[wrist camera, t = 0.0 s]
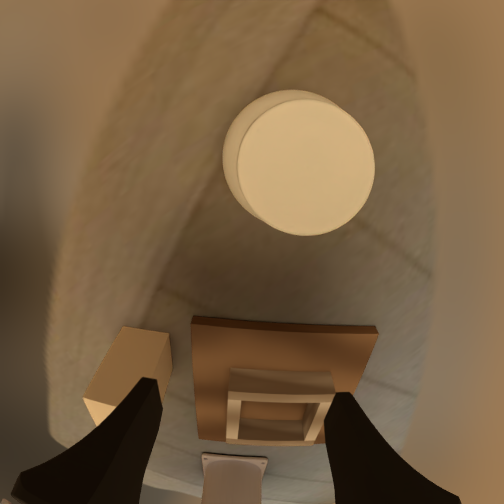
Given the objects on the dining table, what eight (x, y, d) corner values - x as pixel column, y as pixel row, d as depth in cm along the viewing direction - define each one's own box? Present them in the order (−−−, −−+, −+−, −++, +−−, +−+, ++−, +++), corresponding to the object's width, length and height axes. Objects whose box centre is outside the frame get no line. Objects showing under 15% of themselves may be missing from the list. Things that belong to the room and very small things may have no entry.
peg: (172, 368, 23) (150, 443, 16) (130, 361, 23) (99, 430, 16) (169, 333, 22) (139, 412, 14) (123, 326, 22) (82, 397, 14)
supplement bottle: (216, 152, 17) (170, 173, 8) (277, 87, 15) (301, 36, 6) (282, 211, 18) (305, 290, 9) (343, 150, 16) (425, 172, 8)
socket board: (326, 436, 27) (331, 461, 24) (199, 431, 27) (195, 457, 24) (374, 326, 21) (389, 354, 18) (193, 315, 21) (183, 346, 18)
